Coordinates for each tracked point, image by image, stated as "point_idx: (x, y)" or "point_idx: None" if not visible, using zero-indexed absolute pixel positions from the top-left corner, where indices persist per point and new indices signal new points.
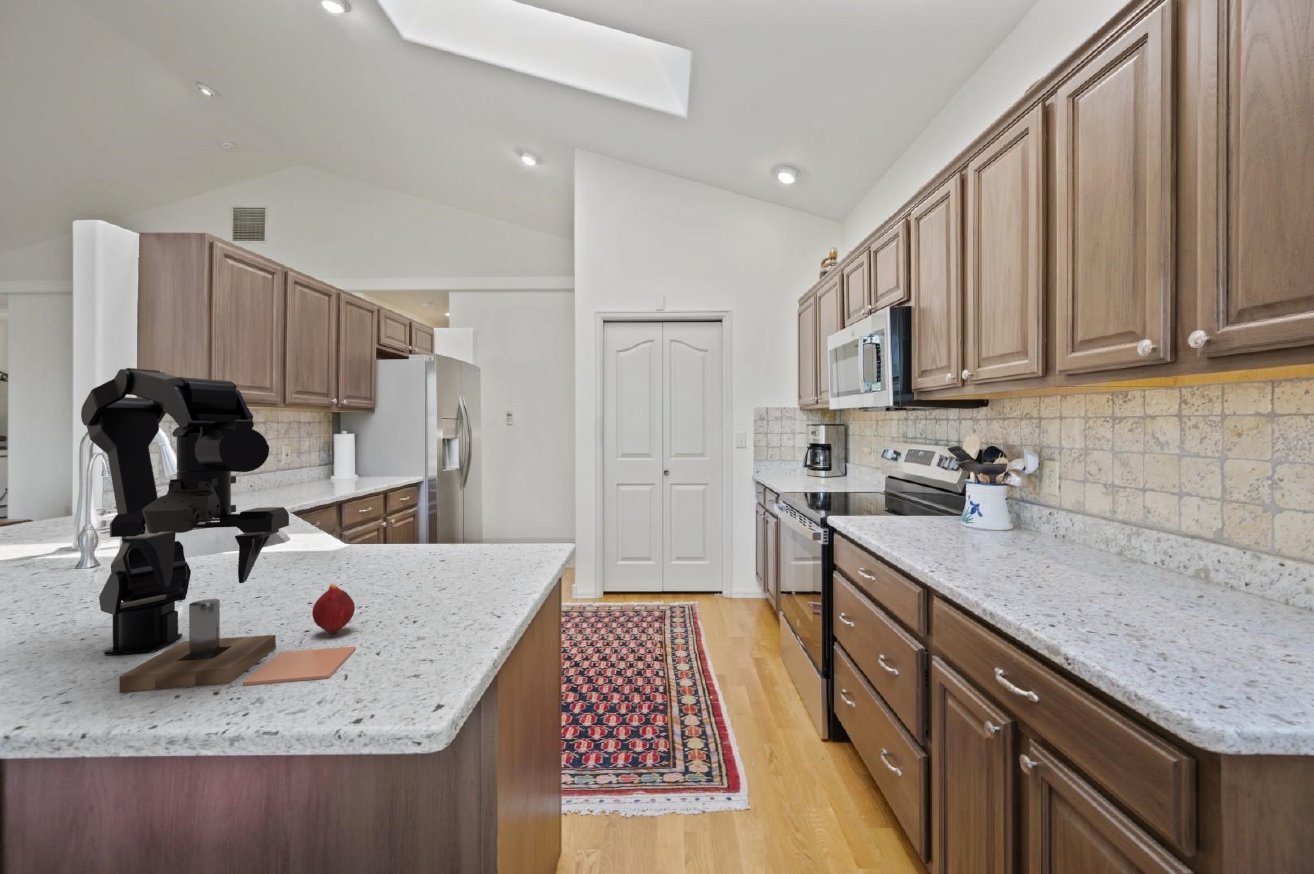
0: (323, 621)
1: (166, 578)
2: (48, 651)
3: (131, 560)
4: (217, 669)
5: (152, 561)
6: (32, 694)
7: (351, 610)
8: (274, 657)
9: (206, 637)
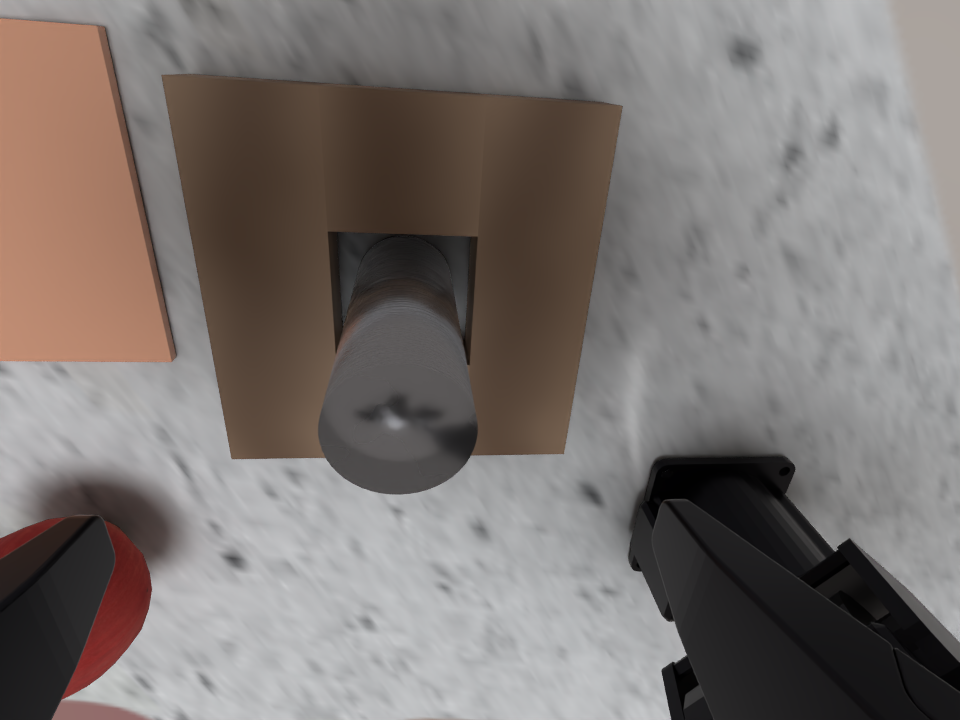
0: None
1: (683, 558)
2: (936, 513)
3: None
4: (218, 79)
5: (896, 674)
6: (876, 174)
7: None
8: (157, 308)
9: (368, 294)
